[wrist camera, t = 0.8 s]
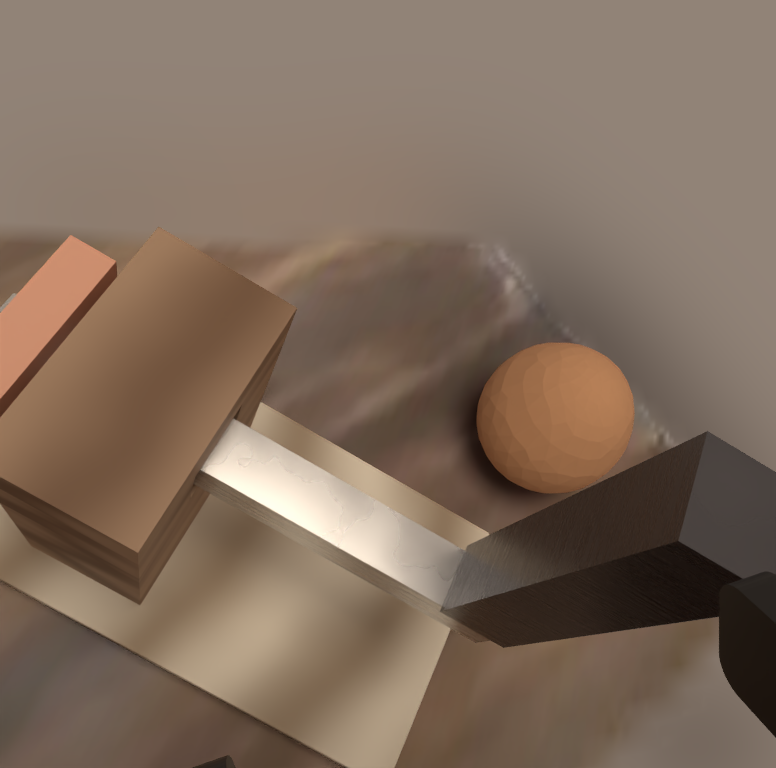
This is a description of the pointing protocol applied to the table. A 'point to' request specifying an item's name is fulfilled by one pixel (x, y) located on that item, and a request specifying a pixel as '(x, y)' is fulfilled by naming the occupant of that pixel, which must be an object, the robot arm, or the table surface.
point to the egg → (555, 417)
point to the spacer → (49, 312)
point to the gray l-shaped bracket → (530, 540)
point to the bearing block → (205, 514)
